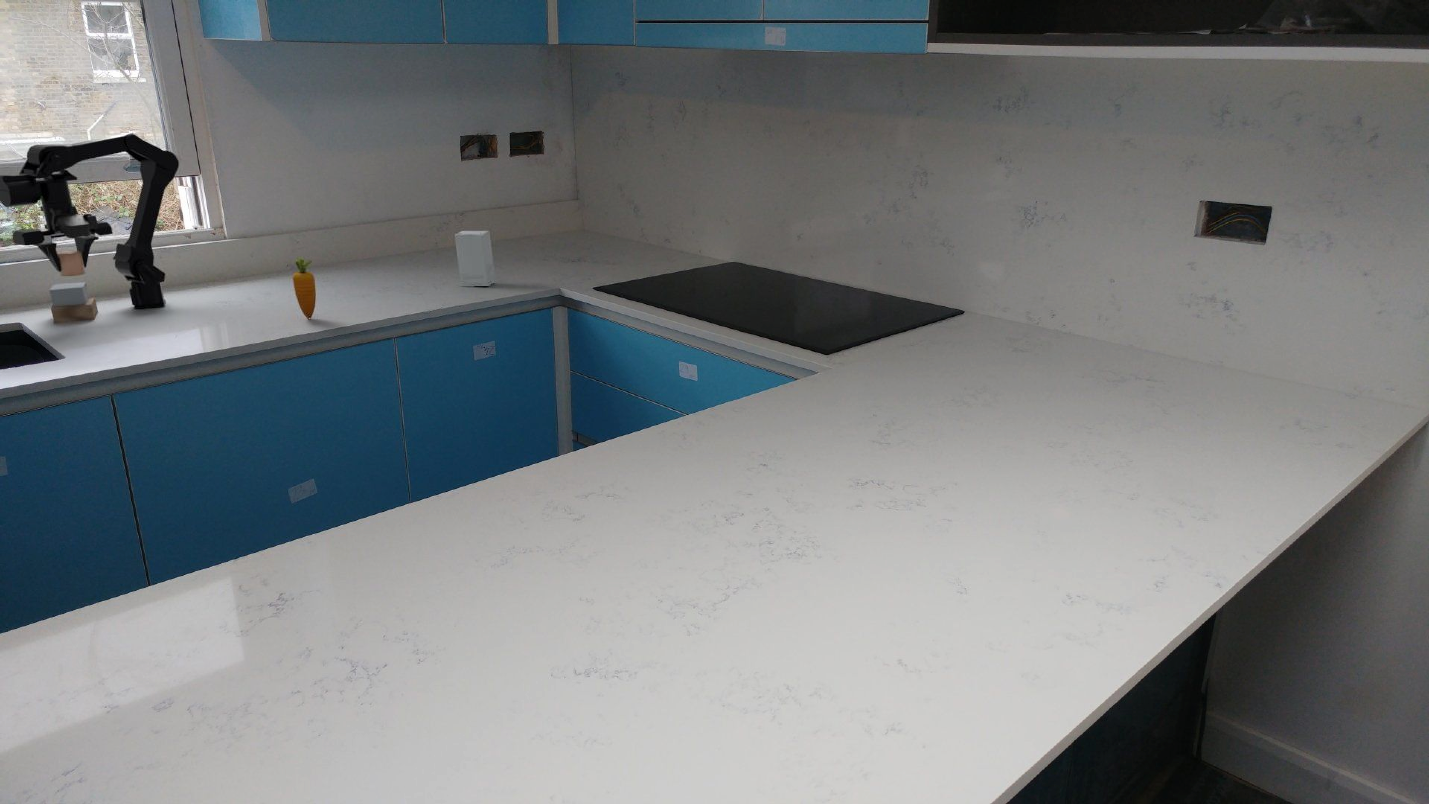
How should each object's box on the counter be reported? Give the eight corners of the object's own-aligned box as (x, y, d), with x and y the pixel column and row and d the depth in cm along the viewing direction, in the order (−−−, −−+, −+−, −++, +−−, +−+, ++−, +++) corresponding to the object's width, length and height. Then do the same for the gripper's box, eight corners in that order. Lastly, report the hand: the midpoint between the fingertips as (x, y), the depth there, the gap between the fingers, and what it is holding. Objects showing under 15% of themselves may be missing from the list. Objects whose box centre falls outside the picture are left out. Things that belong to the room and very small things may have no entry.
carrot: (301, 316, 228) (293, 255, 223) (323, 316, 229) (314, 255, 224) (295, 321, 224) (285, 259, 219) (316, 321, 224) (308, 259, 219)
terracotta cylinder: (86, 271, 223) (81, 250, 222) (84, 275, 219) (80, 253, 218) (61, 272, 221) (56, 251, 220) (59, 277, 217) (54, 255, 215)
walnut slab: (98, 313, 231) (94, 297, 229) (94, 321, 224) (91, 304, 223) (59, 316, 227) (55, 300, 226) (54, 324, 221) (50, 307, 219)
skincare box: (495, 283, 265) (492, 230, 260) (487, 288, 259) (483, 233, 254) (467, 282, 266) (463, 229, 261) (458, 286, 260) (454, 232, 255)
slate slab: (89, 298, 229) (85, 282, 227) (85, 304, 223) (82, 287, 222) (57, 300, 226) (53, 284, 225) (53, 306, 220) (49, 289, 219)
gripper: (28, 209, 203) (45, 281, 209) (117, 200, 218) (131, 266, 223) (3, 205, 209) (20, 275, 214) (92, 196, 224) (106, 261, 229)
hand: (72, 269), depth 220 cm, fingers closed on terracotta cylinder, 5 cm apart
